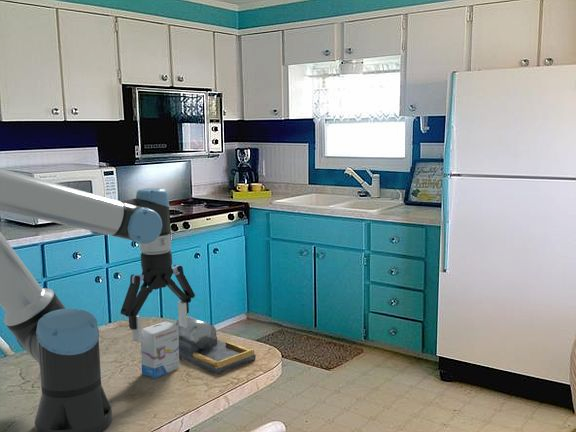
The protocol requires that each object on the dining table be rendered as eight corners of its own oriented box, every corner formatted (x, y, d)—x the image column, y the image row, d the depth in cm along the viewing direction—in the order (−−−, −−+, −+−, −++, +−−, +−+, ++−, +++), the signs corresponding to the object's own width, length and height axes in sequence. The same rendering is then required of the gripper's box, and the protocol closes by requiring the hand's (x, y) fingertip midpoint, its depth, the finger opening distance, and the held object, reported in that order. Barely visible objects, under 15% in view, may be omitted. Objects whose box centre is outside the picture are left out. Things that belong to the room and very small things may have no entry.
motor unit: (217, 374, 148) (216, 341, 147) (162, 350, 165) (161, 320, 164) (255, 359, 158) (254, 328, 156) (200, 337, 174) (199, 309, 173)
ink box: (154, 379, 146) (152, 333, 144) (141, 374, 149) (139, 329, 147) (180, 368, 153) (178, 323, 151) (167, 363, 156) (165, 320, 154)
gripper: (118, 262, 135) (124, 351, 138) (205, 244, 152) (209, 323, 156) (101, 258, 140) (108, 343, 143) (188, 241, 157) (192, 317, 161)
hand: (161, 333), depth 149 cm, fingers open, 13 cm apart
